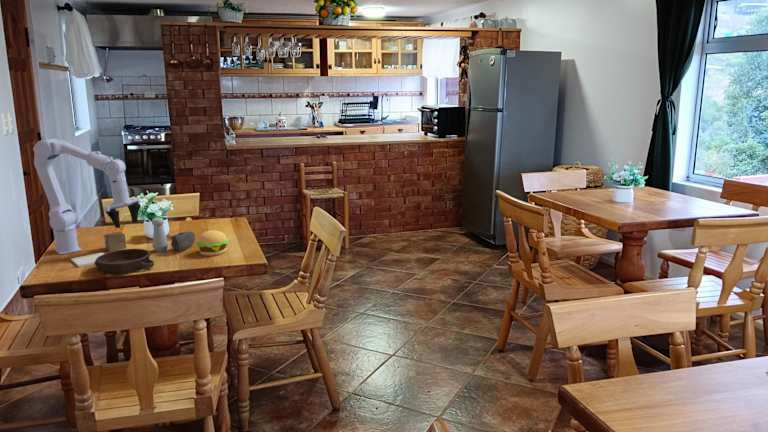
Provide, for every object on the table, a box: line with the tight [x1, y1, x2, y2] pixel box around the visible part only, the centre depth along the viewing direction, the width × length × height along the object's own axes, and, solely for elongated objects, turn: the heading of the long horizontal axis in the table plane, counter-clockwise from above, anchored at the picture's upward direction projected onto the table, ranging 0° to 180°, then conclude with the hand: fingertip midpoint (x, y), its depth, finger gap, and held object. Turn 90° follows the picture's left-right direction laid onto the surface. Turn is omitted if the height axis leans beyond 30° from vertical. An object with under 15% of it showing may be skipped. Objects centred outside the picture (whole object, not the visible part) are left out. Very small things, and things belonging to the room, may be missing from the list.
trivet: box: [70, 252, 105, 268], centre depth 215 cm, size 11×11×1 cm
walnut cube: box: [103, 231, 127, 252], centre depth 230 cm, size 6×6×6 cm
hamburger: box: [195, 229, 230, 257], centre depth 222 cm, size 12×12×9 cm
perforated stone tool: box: [170, 231, 196, 253], centre depth 228 cm, size 15×5×7 cm, turn 166°
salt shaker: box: [151, 217, 169, 253], centre depth 225 cm, size 6×6×13 cm
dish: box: [94, 248, 155, 274], centre depth 206 cm, size 17×22×5 cm
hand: (126, 225), depth 226 cm, fingers open, 7 cm apart
